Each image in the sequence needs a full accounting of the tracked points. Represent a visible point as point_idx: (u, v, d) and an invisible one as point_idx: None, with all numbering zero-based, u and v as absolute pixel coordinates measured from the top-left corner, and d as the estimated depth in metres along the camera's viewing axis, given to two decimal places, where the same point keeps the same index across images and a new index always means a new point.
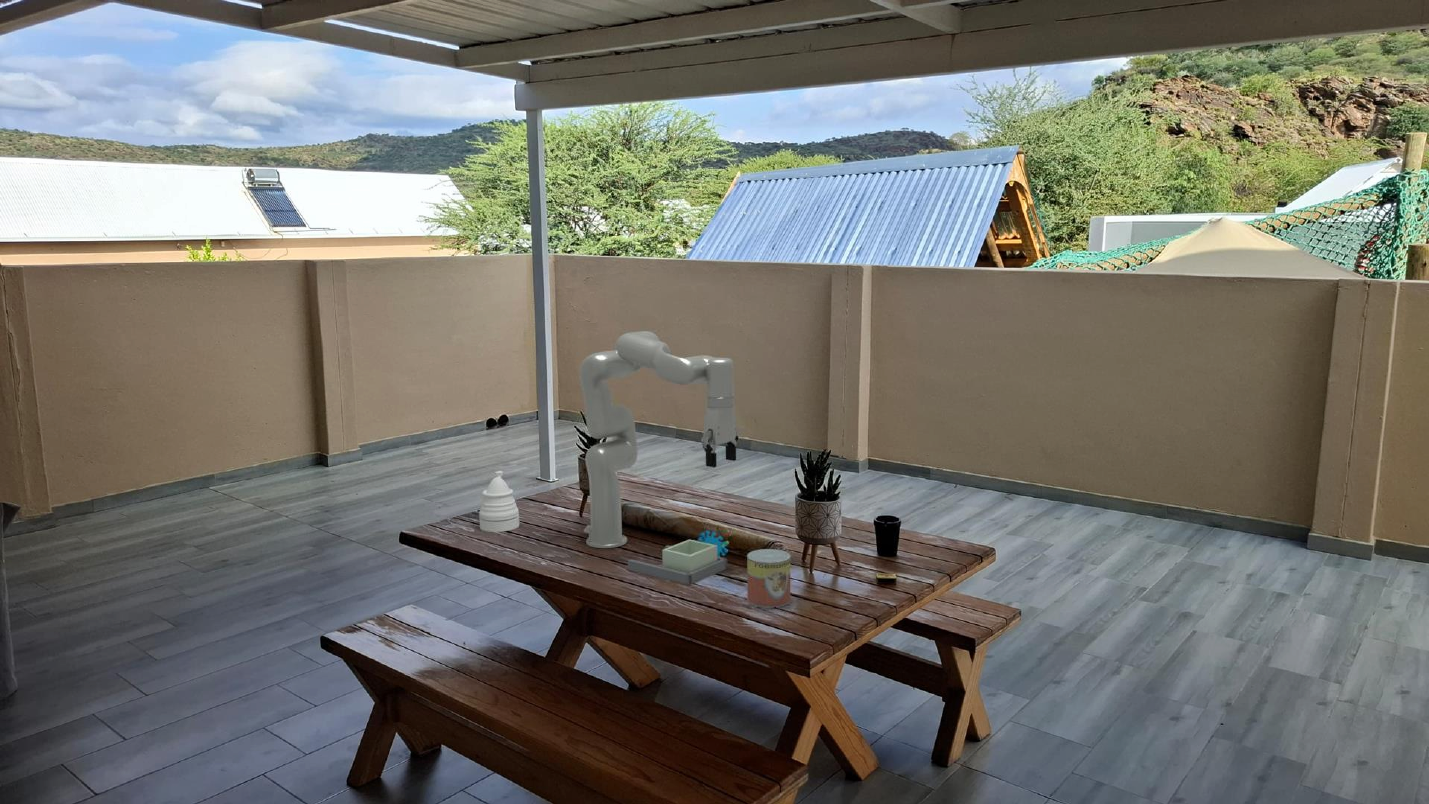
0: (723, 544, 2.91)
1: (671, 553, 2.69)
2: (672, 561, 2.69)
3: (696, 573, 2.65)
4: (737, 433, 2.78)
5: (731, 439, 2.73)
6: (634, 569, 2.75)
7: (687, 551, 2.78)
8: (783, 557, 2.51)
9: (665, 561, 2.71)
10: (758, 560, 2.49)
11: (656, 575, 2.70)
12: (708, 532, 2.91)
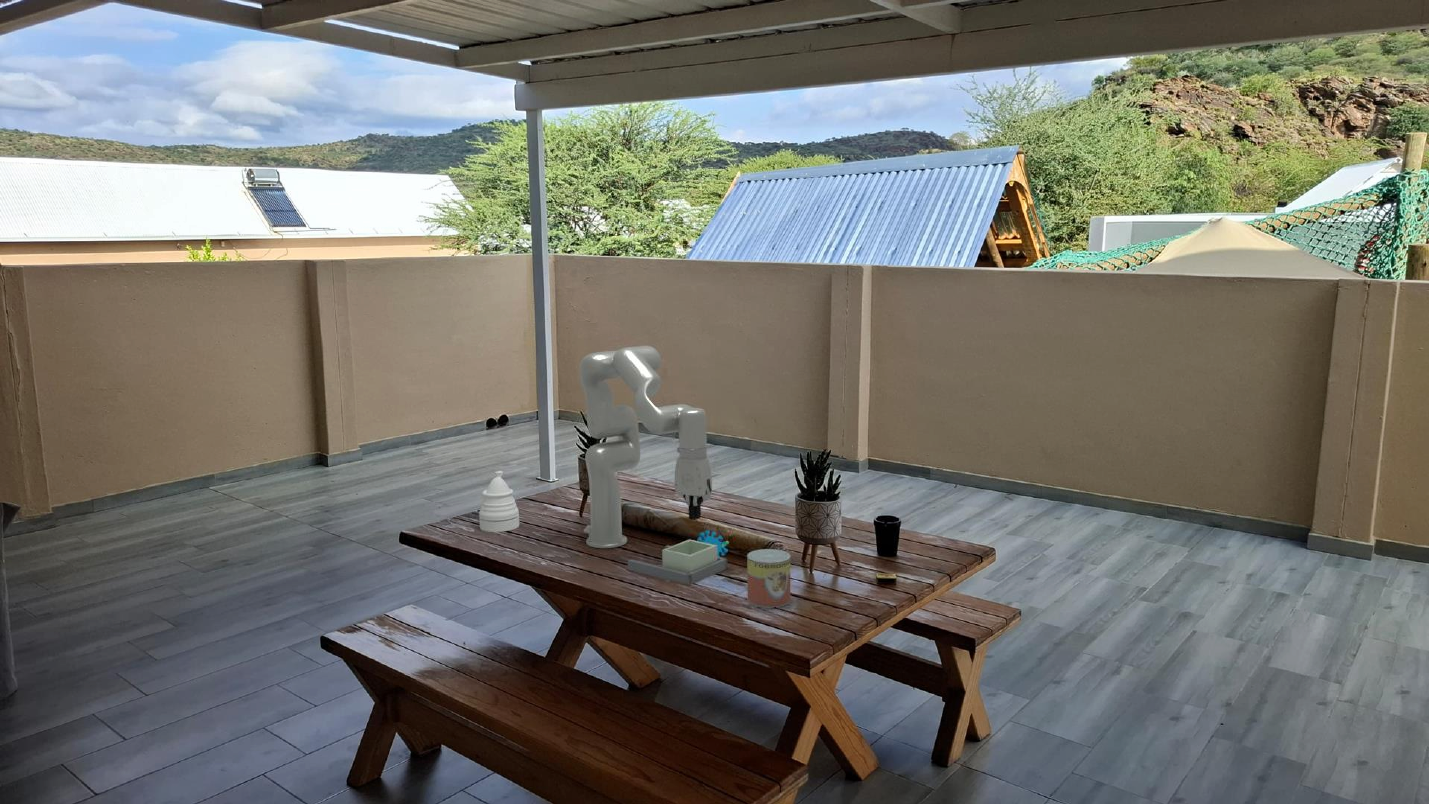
0: (723, 544, 2.91)
1: (671, 553, 2.69)
2: (672, 561, 2.69)
3: (696, 573, 2.65)
4: None
5: None
6: (634, 569, 2.75)
7: (687, 551, 2.78)
8: (783, 557, 2.51)
9: (665, 561, 2.71)
10: (758, 560, 2.49)
11: (656, 575, 2.70)
12: (708, 532, 2.91)
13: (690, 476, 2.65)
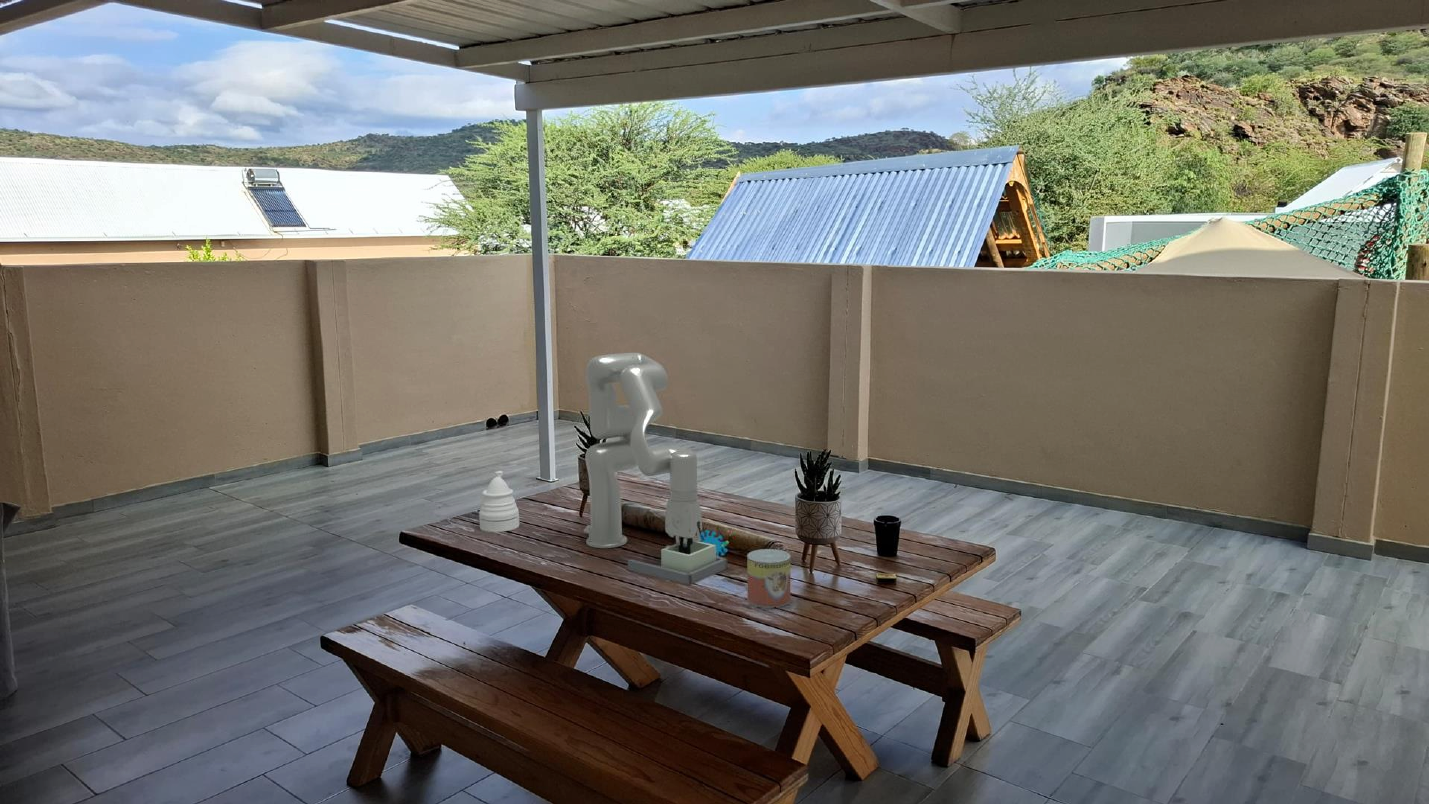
0: (723, 544, 2.91)
1: (670, 553, 2.69)
2: (671, 561, 2.69)
3: (696, 573, 2.65)
4: None
5: None
6: (634, 569, 2.75)
7: None
8: (783, 557, 2.51)
9: (664, 561, 2.71)
10: (758, 560, 2.49)
11: (656, 575, 2.70)
12: (708, 532, 2.91)
13: (680, 518, 2.70)
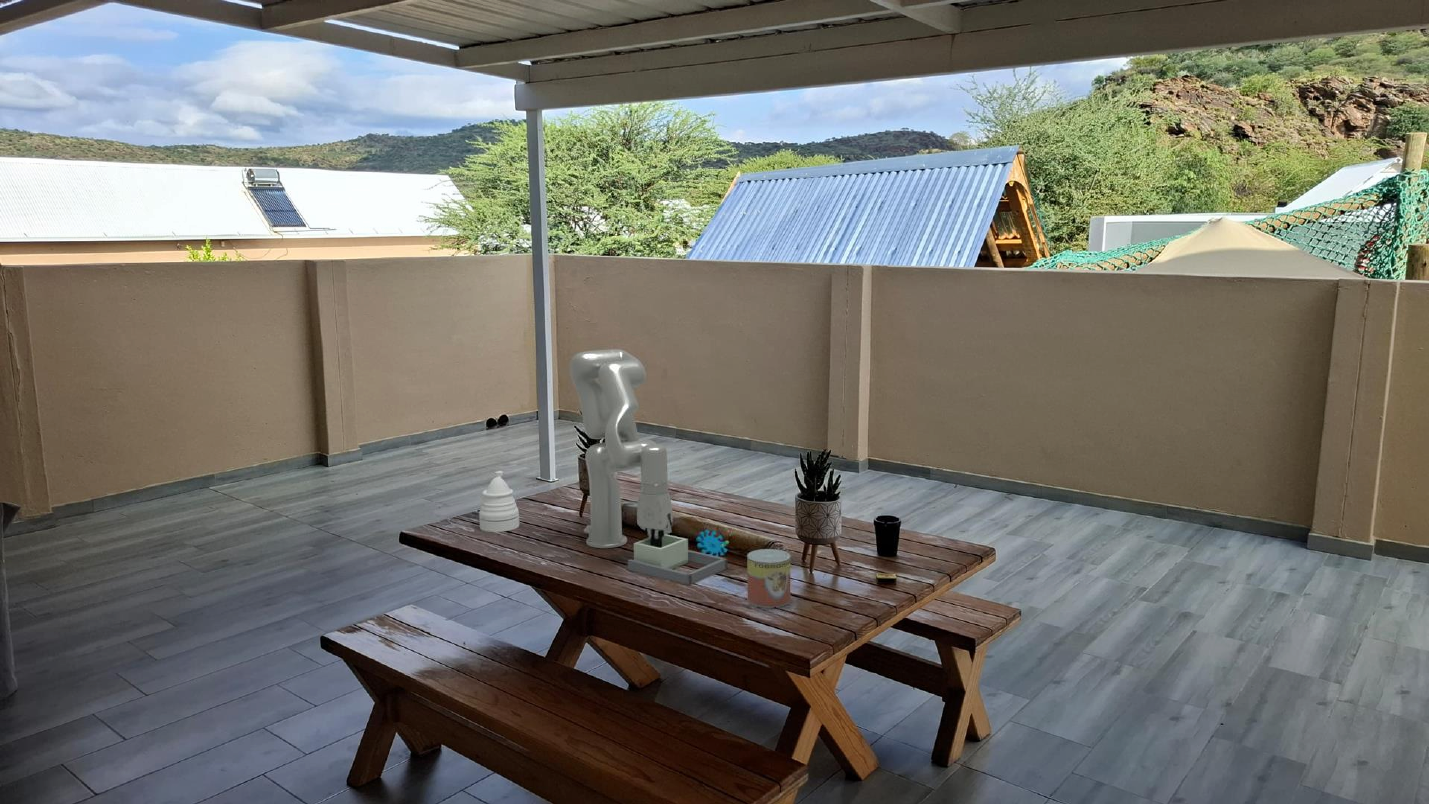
0: (722, 544, 2.91)
1: (642, 546, 2.75)
2: (643, 554, 2.75)
3: (696, 573, 2.65)
4: None
5: None
6: (634, 569, 2.75)
7: None
8: (783, 557, 2.51)
9: (636, 554, 2.77)
10: (758, 560, 2.49)
11: (656, 575, 2.70)
12: (708, 531, 2.92)
13: (651, 510, 2.76)
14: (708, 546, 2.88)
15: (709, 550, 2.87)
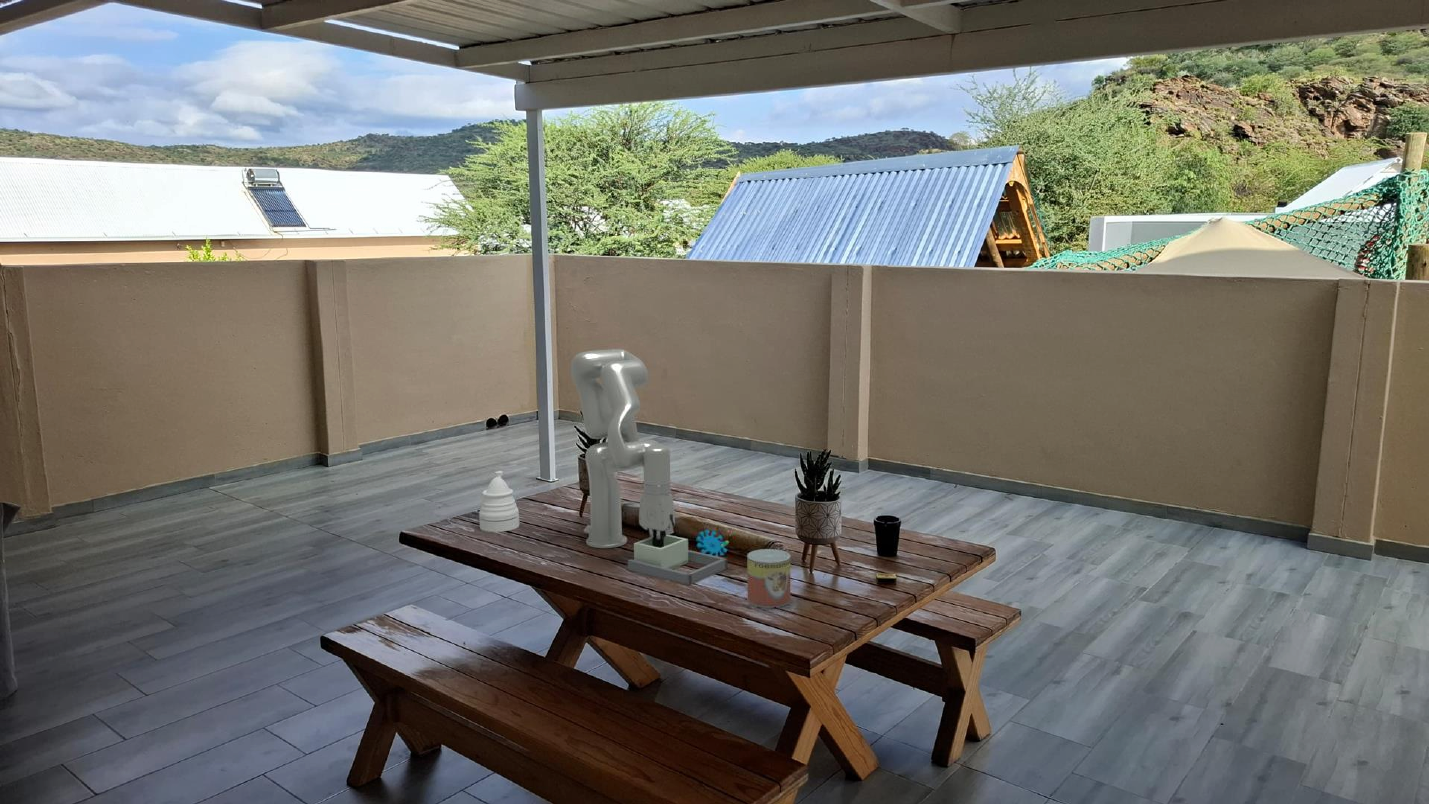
0: (722, 544, 2.91)
1: (642, 546, 2.75)
2: (643, 554, 2.75)
3: (696, 573, 2.65)
4: None
5: None
6: (634, 569, 2.75)
7: None
8: (783, 557, 2.51)
9: (637, 554, 2.77)
10: (758, 560, 2.49)
11: (656, 575, 2.70)
12: (707, 531, 2.92)
13: (654, 511, 2.75)
14: (708, 546, 2.88)
15: (709, 550, 2.87)
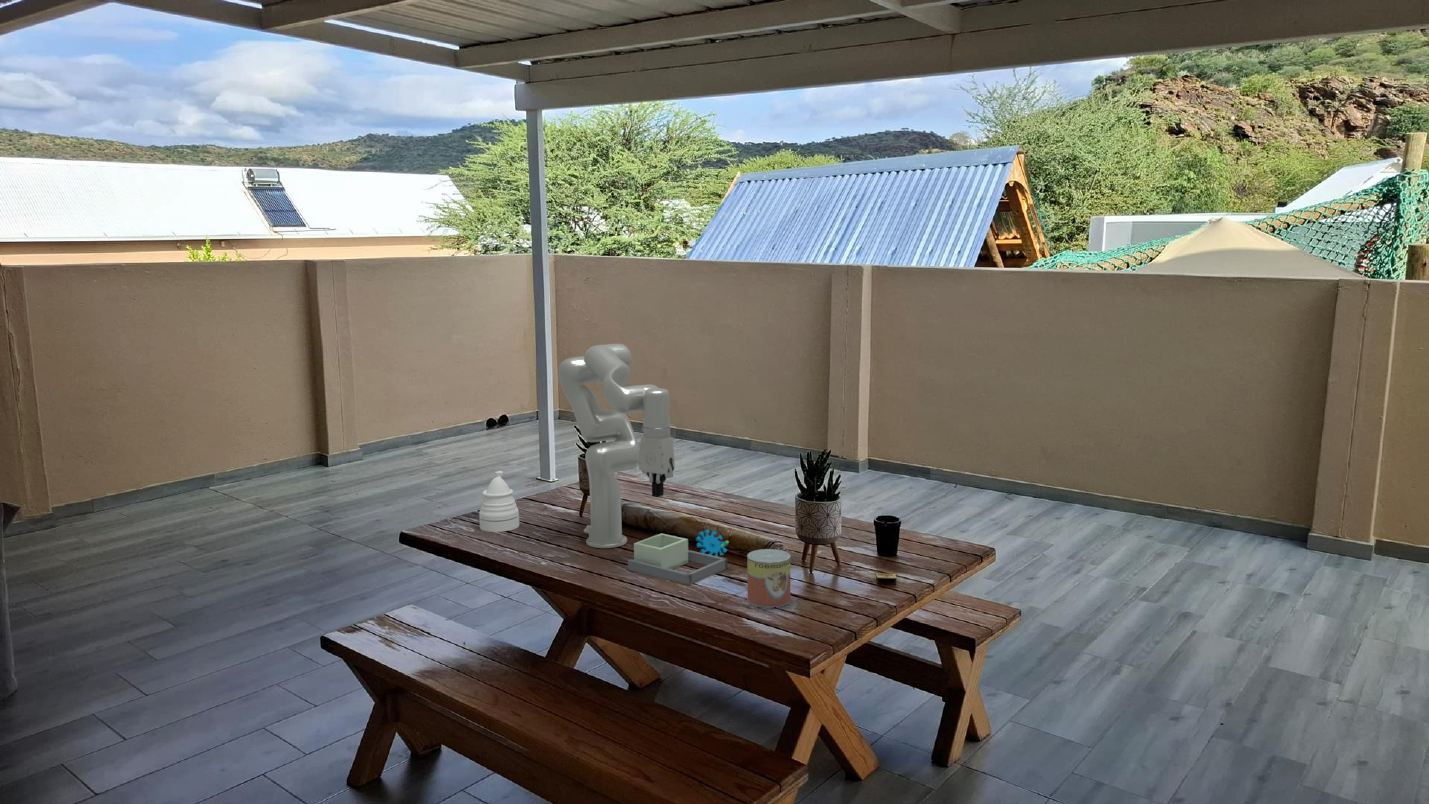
0: (722, 544, 2.91)
1: (642, 546, 2.75)
2: (643, 554, 2.75)
3: (696, 573, 2.65)
4: None
5: None
6: (634, 569, 2.75)
7: (659, 545, 2.85)
8: (783, 557, 2.51)
9: (637, 554, 2.77)
10: (758, 560, 2.49)
11: (656, 575, 2.70)
12: (707, 531, 2.92)
13: (653, 454, 2.73)
14: (707, 546, 2.88)
15: (708, 550, 2.88)
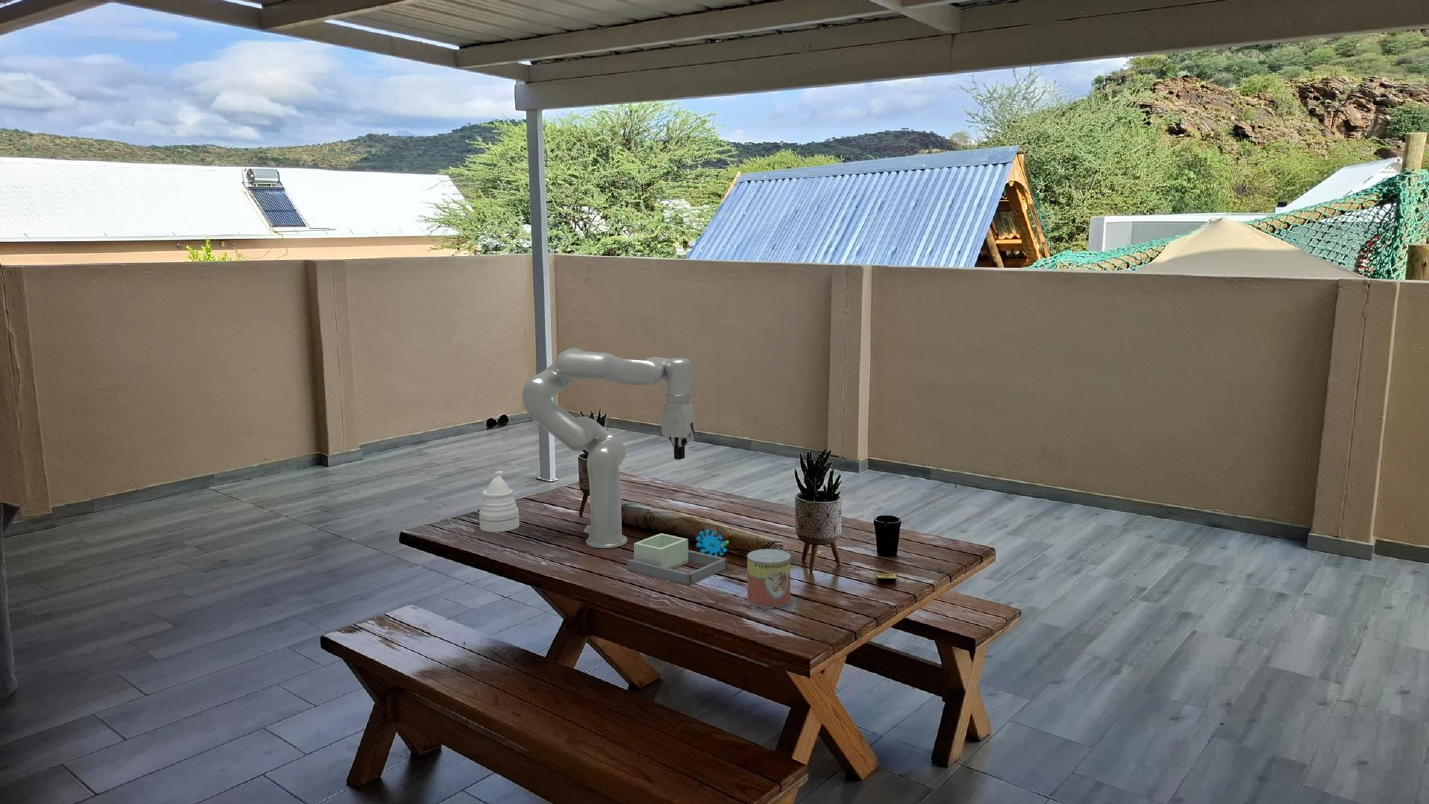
0: (722, 543, 2.91)
1: (642, 546, 2.75)
2: (643, 554, 2.75)
3: (696, 573, 2.65)
4: None
5: None
6: (634, 569, 2.75)
7: (659, 545, 2.85)
8: (783, 557, 2.51)
9: (637, 554, 2.77)
10: (758, 560, 2.49)
11: (656, 575, 2.70)
12: (707, 531, 2.92)
13: (675, 419, 2.94)
14: (707, 546, 2.88)
15: (708, 550, 2.88)
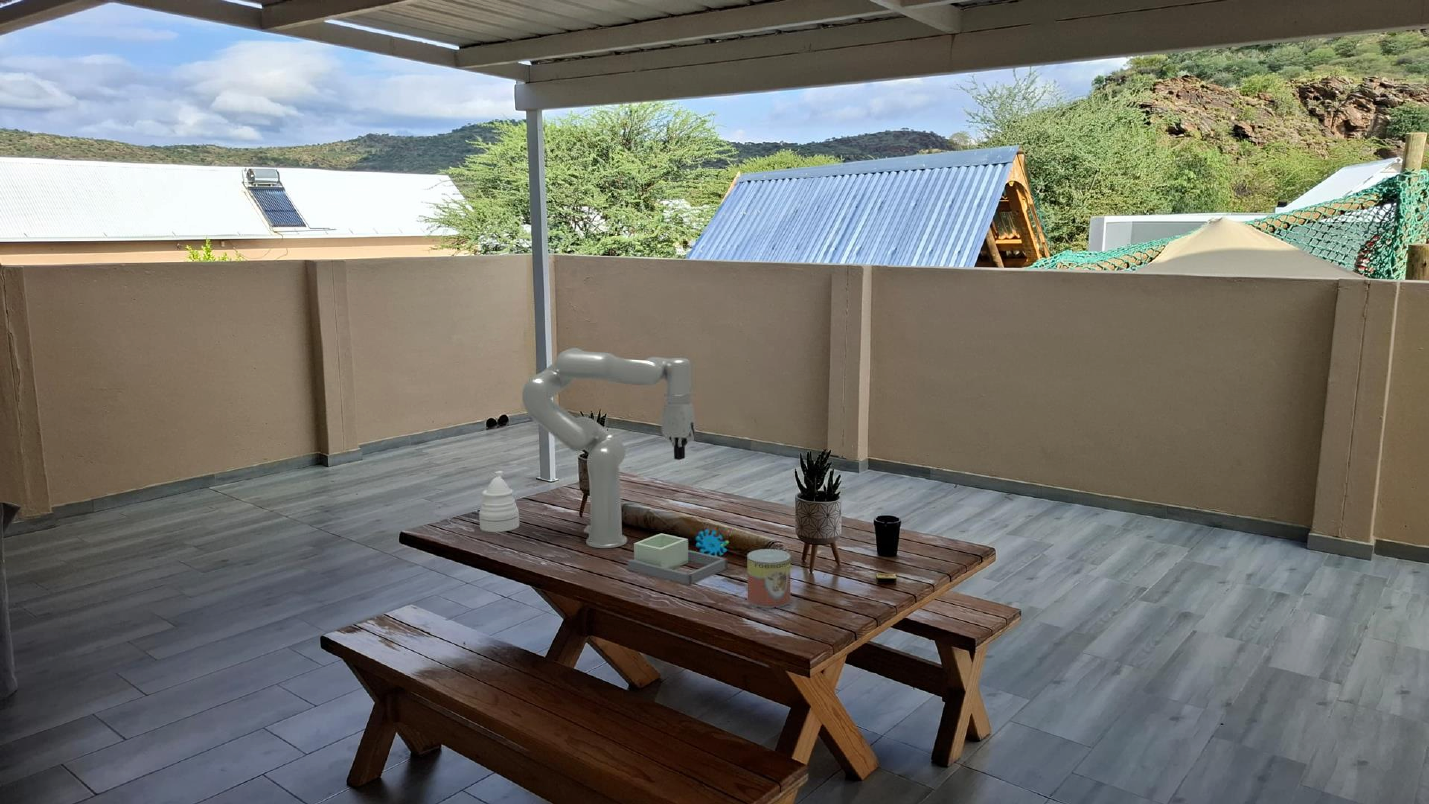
0: (722, 543, 2.92)
1: (642, 546, 2.75)
2: (643, 554, 2.75)
3: (696, 573, 2.65)
4: None
5: None
6: (634, 569, 2.75)
7: (659, 545, 2.85)
8: (783, 557, 2.51)
9: (637, 554, 2.77)
10: (758, 560, 2.49)
11: (656, 575, 2.70)
12: (707, 531, 2.92)
13: (675, 419, 2.94)
14: (707, 545, 2.88)
15: (708, 549, 2.88)
